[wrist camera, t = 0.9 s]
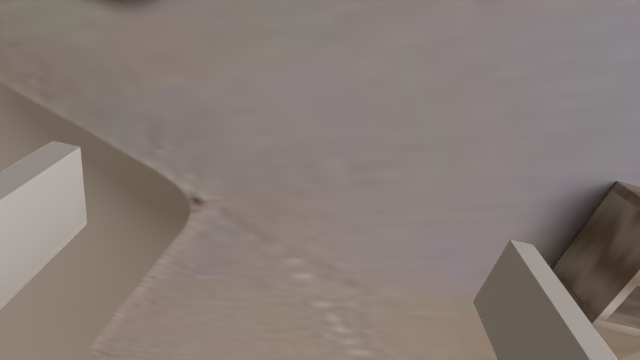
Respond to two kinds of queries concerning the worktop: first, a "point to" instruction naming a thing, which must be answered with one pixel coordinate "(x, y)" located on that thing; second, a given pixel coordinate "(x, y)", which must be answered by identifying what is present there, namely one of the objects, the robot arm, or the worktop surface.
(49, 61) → the worktop surface
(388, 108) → the worktop surface
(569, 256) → the box
